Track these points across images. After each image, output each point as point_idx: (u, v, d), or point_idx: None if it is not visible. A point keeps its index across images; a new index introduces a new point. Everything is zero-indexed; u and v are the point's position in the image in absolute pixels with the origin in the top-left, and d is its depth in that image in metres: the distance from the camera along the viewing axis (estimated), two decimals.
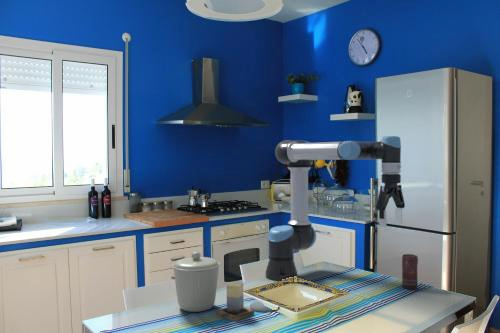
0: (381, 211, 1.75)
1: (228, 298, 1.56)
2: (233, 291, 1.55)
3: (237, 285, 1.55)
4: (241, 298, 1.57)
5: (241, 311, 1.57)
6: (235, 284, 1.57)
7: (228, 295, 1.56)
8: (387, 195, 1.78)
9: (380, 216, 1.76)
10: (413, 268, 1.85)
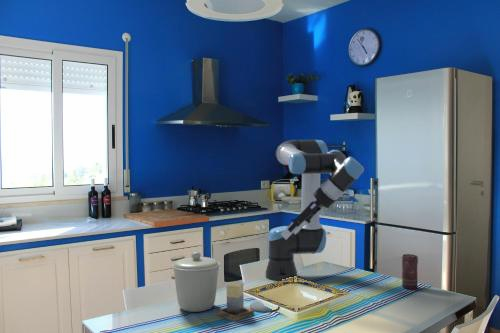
0: (294, 225, 1.54)
1: (228, 298, 1.56)
2: (233, 291, 1.55)
3: (237, 285, 1.55)
4: (241, 298, 1.57)
5: (241, 311, 1.57)
6: (235, 284, 1.57)
7: (228, 295, 1.56)
8: None
9: (289, 228, 1.54)
10: (413, 268, 1.85)
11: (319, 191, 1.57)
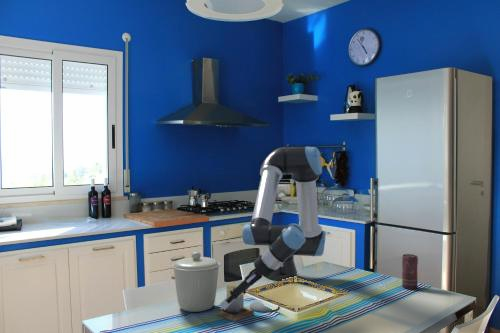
0: (232, 297, 1.53)
1: None
2: None
3: (237, 285, 1.55)
4: (241, 298, 1.57)
5: (241, 311, 1.57)
6: (235, 284, 1.57)
7: (228, 295, 1.56)
8: None
9: (228, 300, 1.54)
10: (413, 268, 1.85)
11: (259, 261, 1.51)
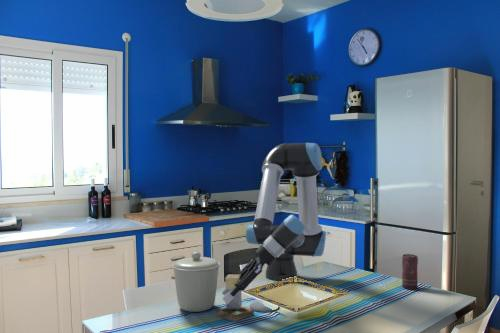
0: (238, 290, 1.52)
1: (227, 290, 1.55)
2: (233, 283, 1.55)
3: (236, 277, 1.55)
4: None
5: (240, 302, 1.57)
6: (234, 276, 1.56)
7: (227, 287, 1.55)
8: None
9: (233, 293, 1.52)
10: (413, 268, 1.85)
11: (263, 250, 1.55)
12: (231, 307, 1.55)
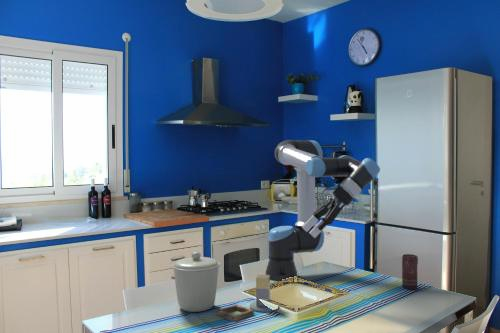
0: (325, 224, 1.58)
1: (258, 290, 1.63)
2: (263, 283, 1.63)
3: (266, 277, 1.63)
4: (269, 289, 1.65)
5: None
6: (264, 276, 1.65)
7: (258, 287, 1.63)
8: None
9: (320, 227, 1.58)
10: (413, 268, 1.85)
11: (342, 190, 1.64)
12: (261, 306, 1.63)
